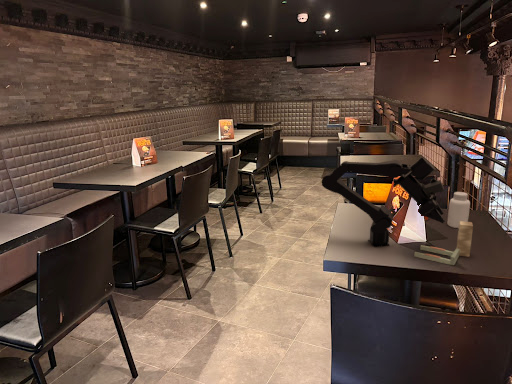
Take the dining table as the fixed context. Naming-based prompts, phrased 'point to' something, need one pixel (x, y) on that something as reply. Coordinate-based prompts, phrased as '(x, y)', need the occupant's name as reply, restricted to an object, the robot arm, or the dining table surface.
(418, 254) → the sage rail
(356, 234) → the dining table surface
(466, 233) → the birch finger
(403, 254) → the dining table surface
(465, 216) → the pill bottle
